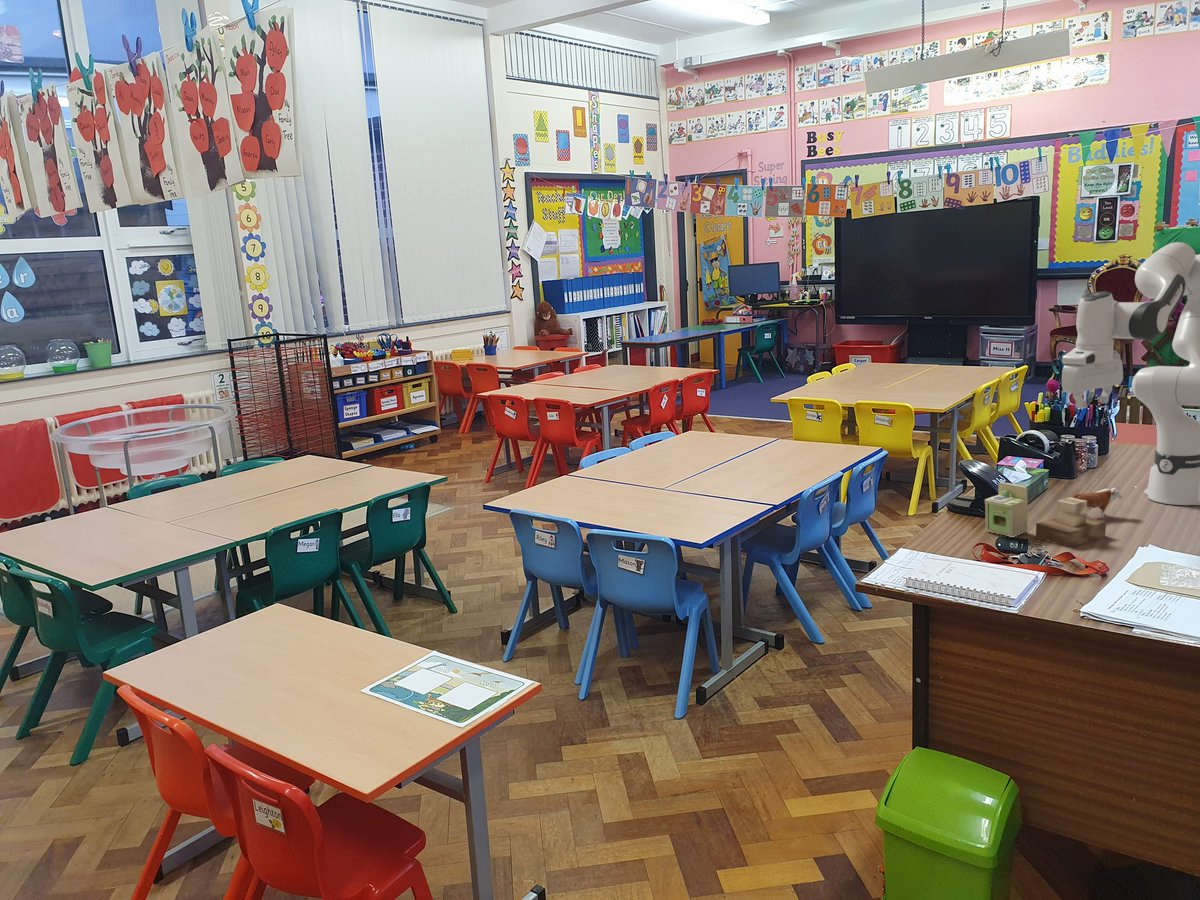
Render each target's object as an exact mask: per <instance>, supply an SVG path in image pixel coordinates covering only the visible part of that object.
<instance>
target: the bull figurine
mask: <svg viewBox="0 0 1200 900" xmlns="http://www.w3.org/2000/svg"><path fill="white" fill-rule="evenodd" d="M1123 497H1124V496H1123V495H1122V493H1121V492H1120V490H1119V489H1117V488H1116V487H1112V488H1111V489H1110V488H1103V489H1101V490H1097V491H1094V492H1093V491H1092V492H1085V493H1083V492H1082V493H1077V494H1075V495H1073V497H1072V498H1076V499H1080V500H1085V501H1087V509H1088V510H1089V511H1091V510H1092V509H1096V508H1098V509H1099V516H1100V517H1101V518H1105V511H1106V509H1107V507H1108V506H1109V505H1110V504H1111V503H1112V502H1113V501H1115V500H1117V499H1123ZM1086 517H1089V518H1091V517H1090V516H1089V515H1088V513H1087V512H1086Z"/></svg>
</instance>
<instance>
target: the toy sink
mask: <svg viewBox="0 0 1200 900" xmlns="http://www.w3.org/2000/svg"><path fill="white" fill-rule="evenodd" d="M997 487H998V490H997V491H998V492H997V493H998V494H997V495H994V496H991V497H988V498H985V499H984V507H985V509H984V511H985V513H984V515H985V517H984V519H985V521H984V523H985V532H986V533H989V532H991V533H990V534H993V533H996V534H995V535H998V534H1004V535H1010V536H1015V535H1018V534H1022V535H1024V534H1026V533H1025V532H1027V533H1028V488H1027V486H1025V485H1020V484H1015V483H1009V482H1003V481H1002V482H999V483H998V486H997ZM1023 533H1024V534H1023Z"/></svg>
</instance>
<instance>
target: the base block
mask: <svg viewBox="0 0 1200 900" xmlns="http://www.w3.org/2000/svg"><path fill="white" fill-rule="evenodd" d="M1089 517H1090V516H1089ZM1089 517H1086V523H1084V524H1080V525H1077V526H1074V527H1073V526H1069V525H1065V524H1061V523H1057V522H1056V518H1057V517H1053V518H1050V519H1047V520H1043V521H1039V522H1037V523H1036V524H1035V538H1036V537H1039V538H1043V539H1046V540H1049V541H1052V542H1051V543H1053V542H1055V543H1054V544H1056V543H1057V544H1058V545H1060V546H1064V547H1068V548H1071V547H1074V546H1078V545H1080V544H1085V543H1087V542H1091V541H1093V540H1097V539H1100V538H1103V537H1106V527H1107V522H1106V521H1105V520H1102V519H1101V520H1100V519H1096V518H1093V517H1090V518H1089ZM1039 538H1038V539H1039ZM1046 540H1045V541H1046ZM1049 541H1048V542H1049Z"/></svg>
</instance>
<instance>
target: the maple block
mask: <svg viewBox="0 0 1200 900" xmlns="http://www.w3.org/2000/svg"><path fill="white" fill-rule="evenodd" d="M1087 509H1088V508H1087V501H1085V500H1080V499H1076V498H1073V497H1070V496H1069V497H1065V498H1062V499H1058V500H1056V517H1055V518H1056V522H1057V523H1061V524H1065V525H1069V526H1073V527H1074V526H1077V525H1080V524H1084V523H1086V513H1087V511H1088V510H1087Z"/></svg>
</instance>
